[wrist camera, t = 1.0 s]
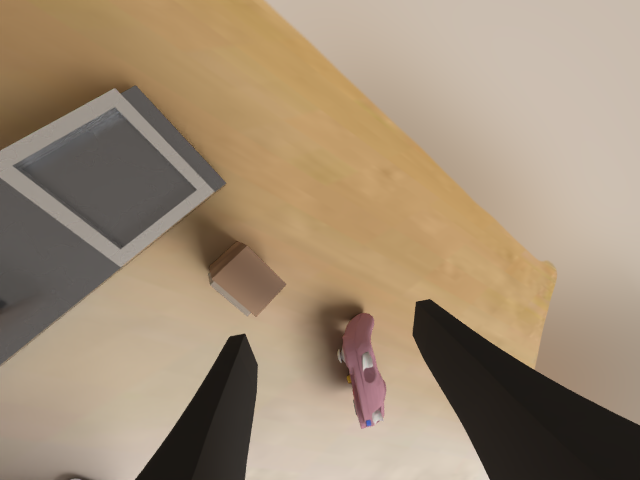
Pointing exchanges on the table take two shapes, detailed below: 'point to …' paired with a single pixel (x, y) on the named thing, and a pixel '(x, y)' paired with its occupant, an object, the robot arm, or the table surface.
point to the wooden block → (244, 279)
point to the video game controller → (363, 370)
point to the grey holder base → (88, 206)
